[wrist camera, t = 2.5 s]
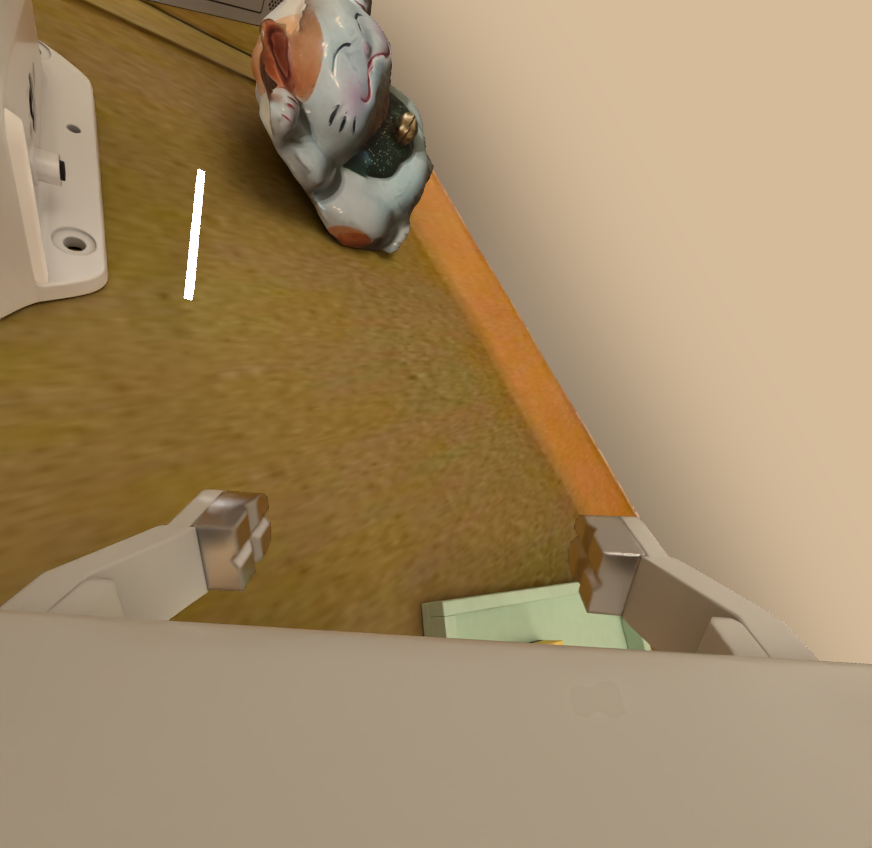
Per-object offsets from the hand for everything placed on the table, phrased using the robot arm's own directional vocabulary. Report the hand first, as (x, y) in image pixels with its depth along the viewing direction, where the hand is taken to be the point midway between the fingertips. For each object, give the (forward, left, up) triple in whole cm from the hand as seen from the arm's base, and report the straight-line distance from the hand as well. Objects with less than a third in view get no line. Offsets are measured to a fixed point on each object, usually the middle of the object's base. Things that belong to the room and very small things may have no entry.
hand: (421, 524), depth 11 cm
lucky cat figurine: (-30, +3, -14) cm, 34 cm away
